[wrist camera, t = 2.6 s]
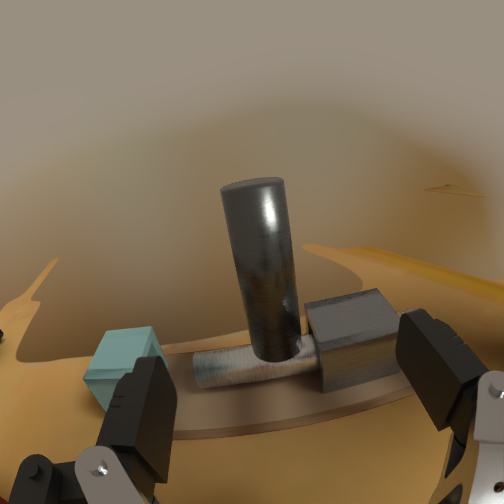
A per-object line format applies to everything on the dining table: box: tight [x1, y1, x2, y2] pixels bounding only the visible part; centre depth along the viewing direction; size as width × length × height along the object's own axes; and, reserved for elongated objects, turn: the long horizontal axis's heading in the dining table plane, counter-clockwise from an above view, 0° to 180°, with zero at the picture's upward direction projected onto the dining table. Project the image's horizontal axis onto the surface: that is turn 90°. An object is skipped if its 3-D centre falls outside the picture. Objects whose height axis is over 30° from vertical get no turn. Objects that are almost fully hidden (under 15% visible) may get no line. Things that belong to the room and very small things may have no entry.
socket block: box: [83, 326, 168, 412], centre depth 24 cm, size 5×7×5 cm
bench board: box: [164, 334, 415, 440], centre depth 25 cm, size 27×10×2 cm, turn 94°
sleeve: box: [304, 288, 401, 394], centre depth 24 cm, size 7×6×5 cm
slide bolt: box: [193, 177, 416, 388], centre depth 22 cm, size 20×4×16 cm, turn 94°
